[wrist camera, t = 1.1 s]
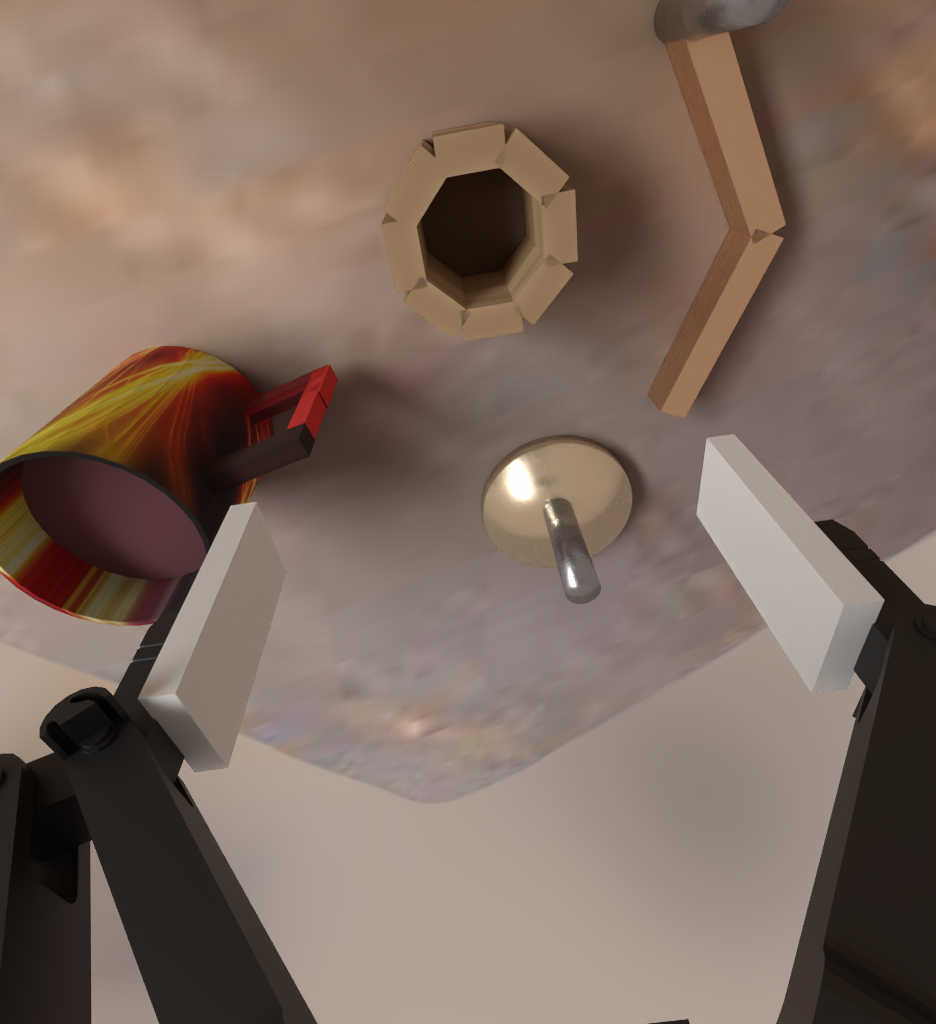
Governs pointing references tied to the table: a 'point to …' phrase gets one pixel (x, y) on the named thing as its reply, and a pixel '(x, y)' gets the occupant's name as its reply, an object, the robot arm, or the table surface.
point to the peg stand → (558, 508)
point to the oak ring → (530, 269)
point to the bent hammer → (719, 182)
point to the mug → (144, 481)
